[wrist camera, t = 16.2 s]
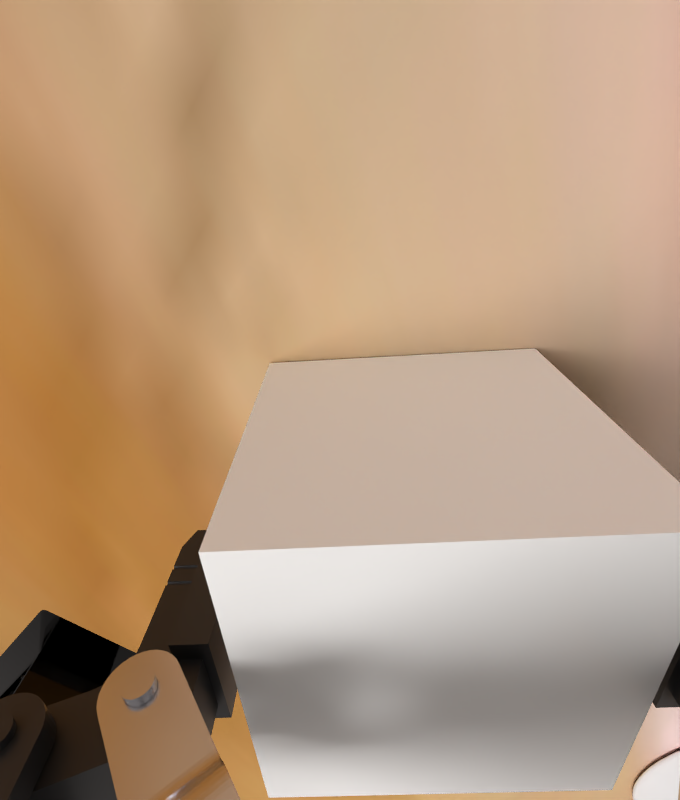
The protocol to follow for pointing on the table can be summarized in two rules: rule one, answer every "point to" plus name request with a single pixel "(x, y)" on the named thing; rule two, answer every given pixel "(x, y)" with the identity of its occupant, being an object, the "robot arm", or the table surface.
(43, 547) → the table surface
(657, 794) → the wineglass
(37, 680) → the black screwed bracket block
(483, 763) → the smooth white box
